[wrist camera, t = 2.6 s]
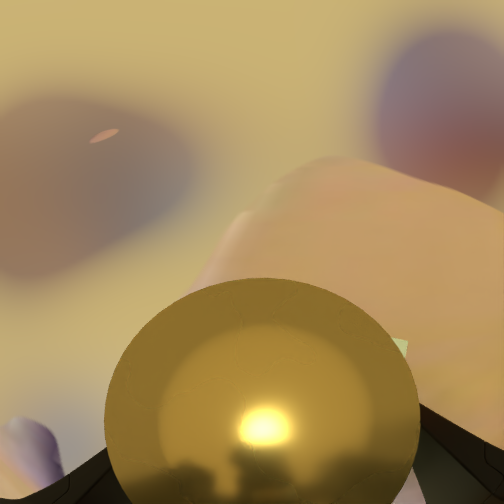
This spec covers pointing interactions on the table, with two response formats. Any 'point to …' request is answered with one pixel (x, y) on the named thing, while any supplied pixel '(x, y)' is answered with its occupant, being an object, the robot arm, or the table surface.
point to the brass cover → (262, 401)
